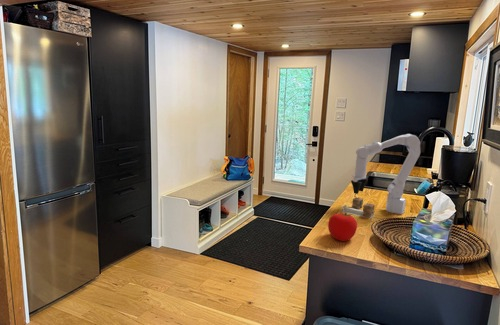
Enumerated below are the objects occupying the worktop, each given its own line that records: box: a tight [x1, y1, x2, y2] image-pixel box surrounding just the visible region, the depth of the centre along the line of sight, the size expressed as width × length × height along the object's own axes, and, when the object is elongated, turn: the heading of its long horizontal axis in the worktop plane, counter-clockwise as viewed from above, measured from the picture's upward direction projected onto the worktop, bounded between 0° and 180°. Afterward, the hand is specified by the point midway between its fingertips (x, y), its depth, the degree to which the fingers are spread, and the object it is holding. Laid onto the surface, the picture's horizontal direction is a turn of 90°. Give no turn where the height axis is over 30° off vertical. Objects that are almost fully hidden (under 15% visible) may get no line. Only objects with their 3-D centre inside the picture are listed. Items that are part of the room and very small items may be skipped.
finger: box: [362, 202, 375, 219], centre depth 177 cm, size 4×5×6 cm
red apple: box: [327, 212, 358, 242], centre depth 147 cm, size 12×14×12 cm
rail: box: [340, 204, 376, 220], centre depth 180 cm, size 16×7×3 cm, turn 52°
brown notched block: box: [351, 196, 364, 210], centre depth 190 cm, size 4×5×6 cm
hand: (358, 192), depth 189 cm, fingers open, 7 cm apart
